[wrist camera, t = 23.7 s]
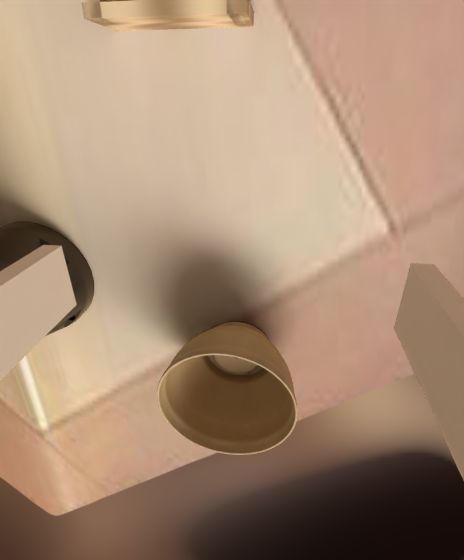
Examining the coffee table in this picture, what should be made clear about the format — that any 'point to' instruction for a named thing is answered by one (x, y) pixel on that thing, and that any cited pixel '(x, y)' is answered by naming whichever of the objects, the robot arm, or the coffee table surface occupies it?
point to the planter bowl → (229, 391)
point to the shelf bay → (168, 14)
